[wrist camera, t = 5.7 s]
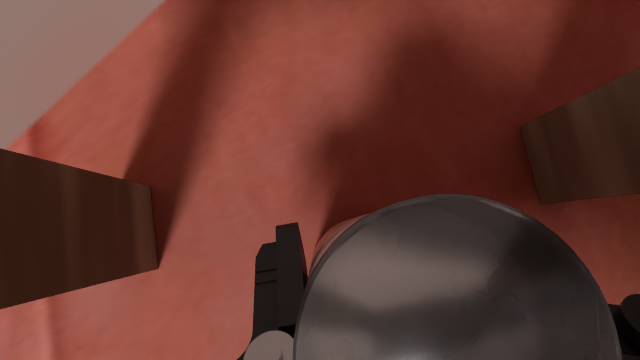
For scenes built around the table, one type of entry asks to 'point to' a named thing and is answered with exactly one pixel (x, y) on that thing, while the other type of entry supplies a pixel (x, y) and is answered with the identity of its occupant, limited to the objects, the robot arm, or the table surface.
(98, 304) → the table surface
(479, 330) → the salt shaker
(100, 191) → the walnut shelf
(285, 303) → the robot arm
